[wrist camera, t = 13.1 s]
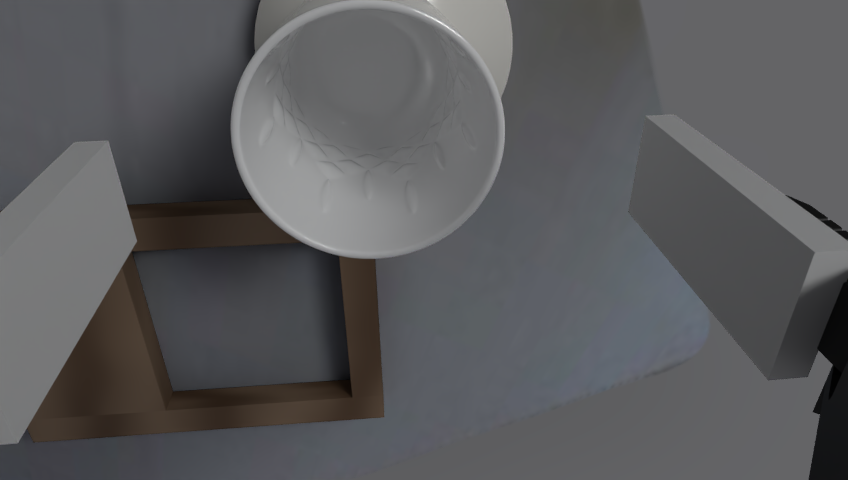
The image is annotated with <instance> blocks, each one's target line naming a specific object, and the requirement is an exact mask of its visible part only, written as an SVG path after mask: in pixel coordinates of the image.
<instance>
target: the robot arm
mask: <svg viewBox="0 0 848 480" xmlns="http://www.w3.org/2000/svg"><path fill="white" fill-rule="evenodd" d="M628 212H629V214H630V215H631V216H632V217H633V218H634V220H635V221H636V222H637V223H638V224H639V226H640V227H641V228H642V229H643V230H644V232H645V233H646V234H647V235H648V236H649V238H650V239H651V240H652V241H653V242H654V244H655V245H656V246H657V247H658V248H659V250H660V251H661V252H662V253H663V254H664V256H665V257H666V258H667V259H668V260H669V262H670V263H671V264H672V265H673V266H674V268H675V269H676V270H677V271H678V272H679V274H680V275H681V276H682V277H683V278H684V280H685V281H686V282H687V283H688V284H689V286H690V287H691V288H692V289H693V290H694V292H695V293H696V294H697V295H698V297H699V298H700V299H701V300H702V301H703V303H704V304H705V305H706V306H707V307H708V309H709V310H710V311H711V312H712V313H713V314H714V316H715V317H716V318H717V319H718V321H719V322H720V323H721V324H722V325H723V326H724V328H725V329H726V330H727V331H728V333H729V334H730V335H731V336H732V337H733V338H734V340H735V341H736V342H737V343H738V345H739V346H740V347H741V348H742V349H743V351H744V352H745V353H746V354H747V355H748V356H749V358H750V359H751V360H752V361H753V362H754V364H755V365H756V366H757V367H758V369H759V370H760V371H761V372H762V373H763V374H764V376H765V377H766V378H767V379H768V380H777V379H788V378H800V377H808V374H809V372H810V370H811V367H812V365H813V362H814V360H815V357H816V355H817V353H818V350H819V351H820V352H821V353H822V354H823V355H824V356H825V357H826V358H827V359H828V360H829V361H830V362H831V363H832V364H833V366H832V368H831V371H830V373H829V375H828V378H827V380H826V382H825V385H824V387H823V389H822V392H821V394H820V396H819V399H818V401H817V403H816V406H815V408H814V410H813V412H814V413H817V414H820V418H819V424H818V429H817V435H816V441H815V446H814V452H813V458H812V464H811V470H810V475H809V480H848V232H847V231H842V228H841V227H840V226H839V225H837V224H836V223H834V222H833V221H831V220H828V218H827V217H826V216H824V215H823V214H822V213H820V212H819V211H817V210H816V209H815V208H813V207H812V206H810V205H808V204H806V203H804V202H801V201H799V200H797V199H794V198H792V197H789V196H787V195H784V194H783V193H781V192H780V191H779V190H777V189H776V188H775V187H773V186H772V185H770V184H769V183H768V182H766V181H765V180H764V179H762V178H761V177H759V176H758V175H757V174H755V173H754V172H753V171H751V170H750V169H748V168H747V167H746V166H744V165H743V164H742V163H740V162H739V161H738V160H736V159H735V158H733V157H732V156H731V155H729V154H728V153H727V152H725V151H724V150H722V149H721V148H720V147H718V146H717V145H715V144H714V143H713V142H711V141H710V140H709V139H707V138H706V137H705V136H703V135H702V134H701V133H699V132H698V131H696V130H695V129H694V128H692V127H691V126H689V125H688V124H687V123H685V122H684V121H683V120H681V119H680V118H678V117H677V116H676V115H655V116H645V122H644V127H643V133H642V138H641V144H640V150H639V155H638V161H637V166H636V172H635V178H634V183H633V189H632V194H631V200H630V206H629V211H628ZM136 242H137V239H136V236H135V232H134V229H133V225H132V222H131V218H130V215H129V211H128V208H127V204H126V201H125V197H124V194H123V190H122V187H121V183H120V180H119V176H118V173H117V169H116V166H115V162H114V159H113V156H112V152H111V149H110V145H109V142H108V141H86V142H74V143H73V144H72V145H71V146H70V147H69V148H68V149H67V150H65V151H64V152H63V153H62V154H61V155H60V156H59V157H58V158H57V159H56V160H55V161H54V162H53V163H52V164H51V165H50V166H49V167H48V168H47V169H46V170H44V171H43V172H42V173H41V174H40V175H39V176H38V177H37V178H36V179H35V180H34V181H33V182H32V183H31V184H30V185H29V186H28V187H27V188H26V189H25V190H23V191H22V192H21V193H20V194H19V195H18V196H17V197H16V198H15V199H14V200H13V201H12V202H11V203H10V204H9V205H8V206H7V207H6V208H5V209H4V210H3V211H1V212H0V445H3V444H15V443H18V442H19V441H20V439H21V437H22V436H23V434H24V432H25V430H26V429H27V427H28V425H29V424H30V422H31V420H32V419H33V417H34V415H35V413H36V412H37V410H38V408H39V407H40V405H41V403H42V402H43V400H44V398H45V397H46V395H47V393H48V391H49V390H50V388H51V386H52V385H53V383H54V381H55V380H56V378H57V376H58V374H59V373H60V371H61V369H62V368H63V366H64V364H65V363H66V361H67V359H68V357H69V356H70V354H71V352H72V351H73V349H74V347H75V346H76V344H77V342H78V341H79V339H80V337H81V335H82V334H83V332H84V330H85V329H86V327H87V325H88V324H89V322H90V320H91V318H92V317H93V315H94V313H95V312H96V310H97V308H98V307H99V305H100V303H101V302H102V300H103V298H104V296H105V295H106V293H107V291H108V290H109V288H110V286H111V285H112V283H113V281H114V279H115V278H116V276H117V274H118V273H119V271H120V269H121V268H122V266H123V264H124V262H125V261H126V259H127V257H128V256H129V254H130V252H131V251H132V249H133V247H134V246H135V244H136Z"/></svg>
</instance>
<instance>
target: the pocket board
mask: <svg viewBox="0 0 848 480" xmlns="http://www.w3.org/2000/svg"><path fill="white" fill-rule="evenodd" d="M127 208H128V211H129V215H130V218H131V222H132V225H133V229H134V232H135V236H136V239H137V242H136V244H135V246H134V247H133V249H132V251H150V250H169V249H188V248H207V247H226V246H246V245H265V244H284V243H302V242H301V241H299V240H297V239H295V238H294V237H292V236H290V235H289V234H287V233H286V232H285V231H283V230H282V229H281V228H279V227H278V226H277V225H276V224H275V223H274V222H273V221H271V220H270V219H269V218H268V217H267V216H266V215H265V213H264V212H263V211H262V210H261V209H260V208H259V206H258V205H257V204H256V203H255V201H254V200H253V199H244V200H222V201H201V202H180V203H159V204H137V205H127ZM0 212H1V211H0ZM132 251H131V252H130V254H129V256H128V257H127V259H126V261H125V262H124V264H123V266H122V268H121V269H120V271H119V273H118V274H117V276H116V278H115V279H114V281H113V283H112V285H111V286H110V288H109V290H108V291H107V293H106V295H105V296H104V298H103V300H102V302H101V303H100V305H99V307H98V308H97V310H96V312H95V313H94V315H93V317H92V318H91V320H90V322H89V324H88V325H87V327H86V329H85V330H84V332H83V334H82V335H81V337H80V339H79V341H78V342H77V344H76V346H75V347H74V349H73V351H72V352H71V354H70V356H69V357H68V359H67V361H66V363H65V364H64V366H63V368H62V369H61V371H60V373H59V374H58V376H57V378H56V380H55V381H54V383H53V385H52V386H51V388H50V390H49V391H48V393H47V395H46V397H45V398H44V400H43V402H42V403H41V405H40V407H39V408H38V410H37V412H36V413H35V415H34V417H33V419H32V420H31V422H30V424H29V425H28V427H27V430H28V432H29V434H30V436H31V438H32V440H33V442H47V441H61V440H74V439H88V438H102V437H116V436H130V435H144V434H158V433H172V432H186V431H199V430H213V429H227V428H241V427H255V426H269V425H283V424H297V423H311V422H324V421H338V420H352V419H366V418H380V417H384V401H383V383H382V367H381V350H380V333H379V317H378V300H377V283H376V267H375V259H358V258H349V257H343V256H339V260H340V271H341V282H342V292H343V303H344V313H345V324H346V334H347V345H348V356H349V366H350V377H351V380H338V381H323V382H308V383H293V384H279V385H264V386H249V387H234V388H219V389H205V390H190V391H175V392H173V390H172V387H171V383H170V380H169V376H168V373H167V370H166V366H165V363H164V359H163V356H162V353H161V349H160V346H159V342H158V339H157V336H156V332H155V329H154V325H153V322H152V319H151V315H150V312H149V308H148V305H147V302H146V298H145V295H144V291H143V288H142V285H141V281H140V278H139V274H138V271H137V268H136V264H135V261H134V257H133V254H132Z"/></svg>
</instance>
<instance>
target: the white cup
mask: <svg viewBox="0 0 848 480" xmlns="http://www.w3.org/2000/svg"><path fill="white" fill-rule="evenodd" d="M230 132H231V144H232V150H233V155H234V159H235V162H236V166H237V169H238V171H239V174H240V176H241V179H242V181H243V183H244V185H245V187H246V189H247V190H248V192H249V194H250V195H251V197H252V198H253V200H254V201H255V203H256V204H257V205H258V206H259V208H260V209H261V210H262V211H263V212H264V213H265V215H266V216H267V217H268V218H269V219H270V220H271V221H273V222H274V223H275V224H276V225H277V226H278V227H279V228H281V229H282V230H283V231H285V232H286V233H287V234H289V235H290V236H292V237H294V238H295V239H297V240H299V241H301V242H302V243H304V244H306V245H308V246H311V247H313V248H315V249H318V250H321V251H324V252H327V253H330V254H334V255H338V256H343V257H349V258H358V259H382V258H390V257H396V256H401V255H405V254H409V253H412V252H415V251H418V250H421V249H423V248H426V247H428V246H430V245H432V244H434V243H436V242H438V241H440V240H442V239H443V238H445V237H446V236H448V235H449V234H451V233H452V232H454V231H455V230H456V229H458V228H459V227H460V226H461V225H462V224H463V223H464V222H466V221H467V220H468V219H469V218H470V217H471V215H472V214H473V213H474V212H475V211H476V210H477V208H478V207H479V206H480V205H481V203H482V202H483V200H484V199H485V197H486V196H487V194H488V192H489V191H490V189H491V187H492V185H493V183H494V180H495V178H496V176H497V173H498V170H499V167H500V164H501V160H502V155H503V150H504V141H505V120H504V112H503V106H502V102H501V98H500V95H499V91H498V89H497V86H496V83H495V81H494V79H493V77H492V75H491V73H490V71H489V69H488V67H487V66H486V64H485V62H484V61H483V59H482V58H481V57H480V55H479V54H478V53H477V51H476V50H475V49H474V48H473V47H472V45H471V44H470V43H469V42H468V41H467V40H466V39H465V38H464V37H463V36H462V35H461V33H460V32H459V31H458V30H457V29H456V28H455V27H454V25H453V24H452V23H451V22H450V21H449V20H448V19H447V18H446V17H445V16H444V15H443V14H442V13H441V12H440V11H439V10H438V9H437V8H436V7H435V6H434V5H432V4H431V3H430V2H429V1H427V0H305V1H304V2H303V3H302V4H300V5H299V6H298V7H297V8H296V9H295V10H294V11H292V12H291V13H290V14H289V15H288V16H287V17H286V18H285V19H284V21H283V22H282V23H281V24H280V25H279V27H278V28H277V29H276V30H275V31H274V32H273V33H272V35H271V36H270V37H269V38H268V39H267V40H266V41H265V42H264V43H263V44H262V45H261V47H260V48H259V49H258V50H257V51H256V53H255V54H254V56H253V57H252V58H251V60H250V61H249V63H248V65H247V67H246V68H245V70H244V72H243V74H242V76H241V79H240V81H239V83H238V86H237V89H236V92H235V96H234V100H233V105H232V111H231V123H230Z"/></svg>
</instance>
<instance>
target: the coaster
mask: <svg viewBox="0 0 848 480" xmlns="http://www.w3.org/2000/svg"><path fill="white" fill-rule="evenodd" d="M304 1H305V0H261V1H260V4H259V7H258V12H257V18H256V23H255V38H254V45H255V53H256V51H257V50H258V49H259V48H260V47H261V45H262V44H263V43H264V42H265V41H266V40H267V39H268V38H269V37H270V36H271V35H272V33H273V32H274V31H275V30H276V29H277V28H278V27H279V25H280V24H281V23H282V22H283V21H284V19H285V18H286V17H287V16H288V15H289V14H290V13H291V12H292V11H294V10H295V9H296V8H297V7H298V6H299V5H300V4H302V3H303V2H304ZM427 1H429V2H430V3H431V4H432V5H434V6H435V7H436V8H437V9H438V10H439V11H440V12H441V13H442V14H443V15H444V16H445V17H446V18H447V19H448V20H449V21H450V22H451V23H452V24H453V25H454V27H455V28H456V29H457V30H458V31H459V32H460V33H461V35H462V36H463V37H464V38H465V39H466V40H467V41H468V42H469V43H470V44H471V45H472V47H473V48H474V49H475V50H476V51H477V53H478V54H479V55H480V57H481V58H482V59H483V61H484V62H485V64H486V66H487V67H488V69H489V71H490V73H491V75H492V77H493V79H494V81H495V83H496V86H497V89H498V91H499V95H500V98H501V96H502V94H503V91H504V89H505V86H506V83H507V79H508V75H509V72H510V67H511V59H512V28H511V20H510V15H509V11H508V7H507V4H506V0H427Z"/></svg>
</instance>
